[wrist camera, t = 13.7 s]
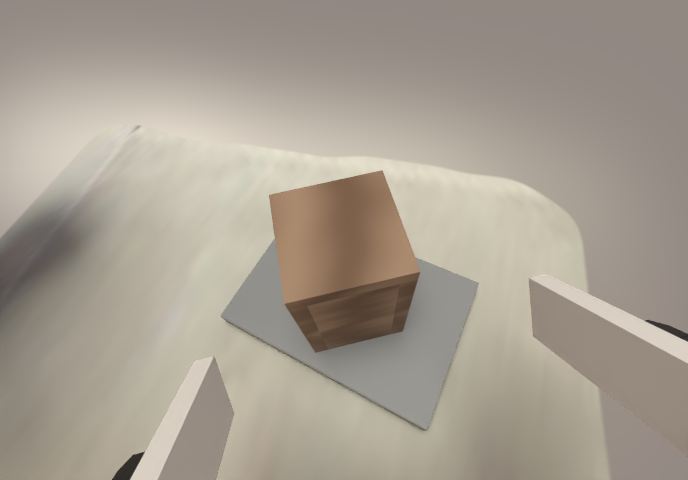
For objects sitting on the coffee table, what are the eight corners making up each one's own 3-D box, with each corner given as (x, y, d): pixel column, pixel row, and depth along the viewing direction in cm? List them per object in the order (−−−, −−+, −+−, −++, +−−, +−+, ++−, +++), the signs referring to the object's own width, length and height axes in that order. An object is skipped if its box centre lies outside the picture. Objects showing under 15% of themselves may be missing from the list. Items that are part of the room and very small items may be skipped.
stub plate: (226, 321, 30) (183, 286, 23) (298, 217, 35) (280, 163, 28) (424, 430, 24) (444, 427, 18) (474, 289, 30) (504, 245, 23)
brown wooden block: (315, 352, 26) (284, 303, 17) (301, 272, 30) (269, 195, 20) (402, 331, 27) (420, 271, 17) (378, 254, 30) (382, 170, 21)
